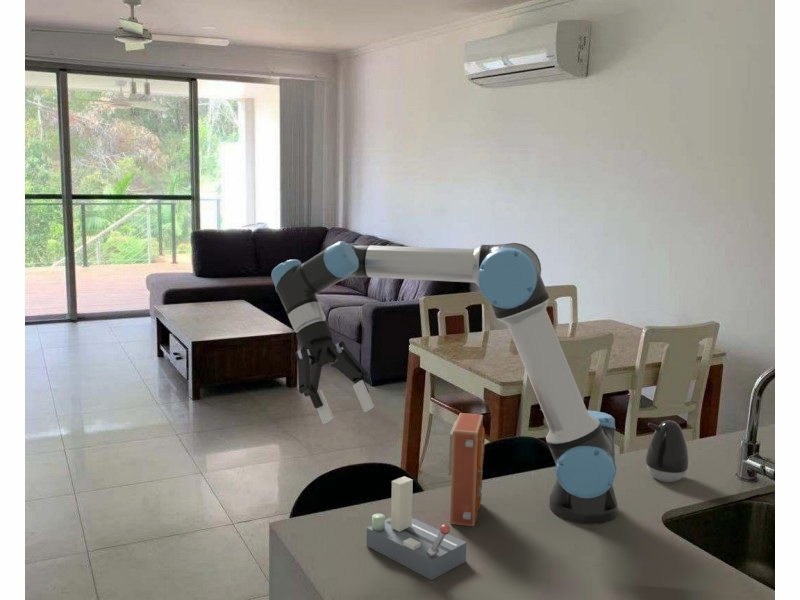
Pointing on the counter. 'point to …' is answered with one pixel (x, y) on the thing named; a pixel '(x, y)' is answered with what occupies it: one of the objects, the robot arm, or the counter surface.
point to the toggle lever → (438, 541)
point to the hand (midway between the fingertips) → (349, 415)
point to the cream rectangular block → (401, 503)
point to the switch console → (418, 548)
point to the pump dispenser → (667, 452)
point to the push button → (378, 522)
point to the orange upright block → (466, 468)
